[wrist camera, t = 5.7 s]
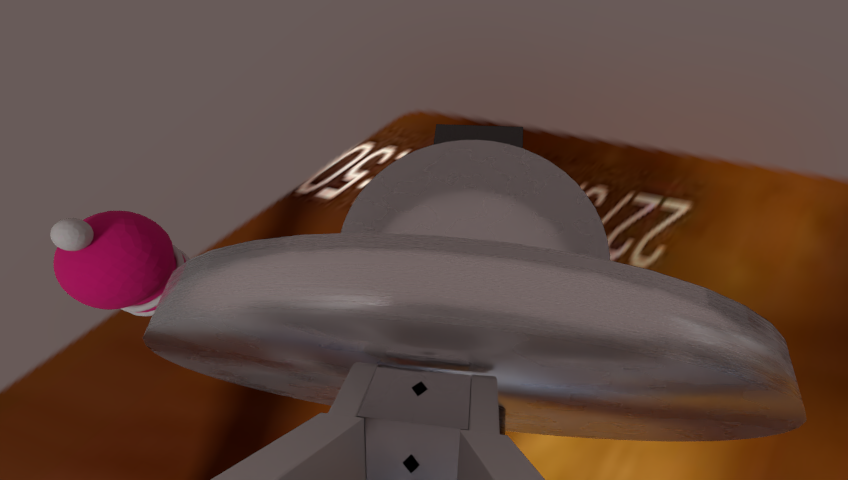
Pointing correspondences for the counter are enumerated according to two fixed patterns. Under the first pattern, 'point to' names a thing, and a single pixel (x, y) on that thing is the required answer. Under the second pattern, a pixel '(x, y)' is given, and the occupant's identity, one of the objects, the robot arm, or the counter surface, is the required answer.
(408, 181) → the cooker pot
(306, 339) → the cooker lid
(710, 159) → the counter surface
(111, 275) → the pepper mill
